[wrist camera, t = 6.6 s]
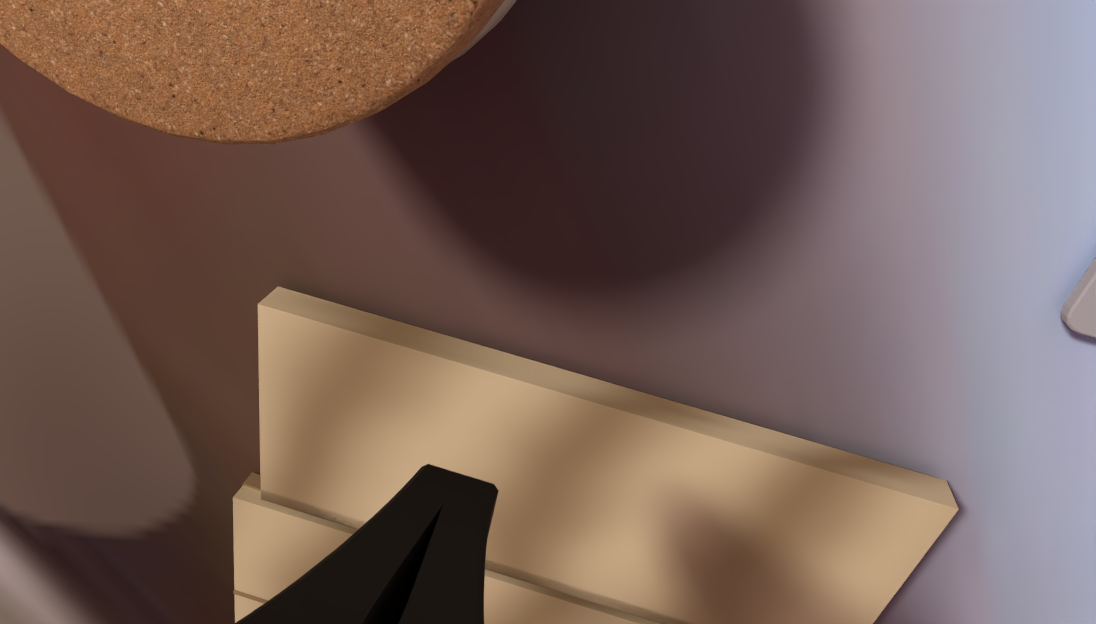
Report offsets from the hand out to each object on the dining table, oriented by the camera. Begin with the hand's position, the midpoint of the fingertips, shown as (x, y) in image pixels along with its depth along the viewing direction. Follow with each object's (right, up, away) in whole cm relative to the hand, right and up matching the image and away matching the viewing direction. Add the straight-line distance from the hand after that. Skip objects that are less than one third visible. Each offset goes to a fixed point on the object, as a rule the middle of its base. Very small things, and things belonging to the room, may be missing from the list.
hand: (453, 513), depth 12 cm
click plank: (+2, -2, +10) cm, 10 cm away
